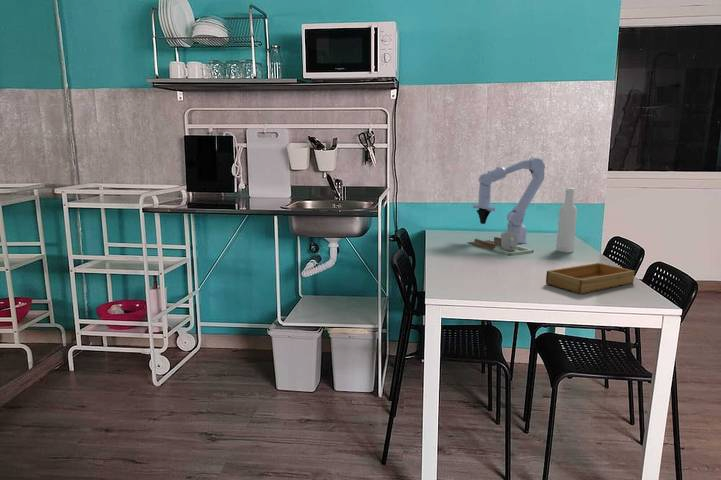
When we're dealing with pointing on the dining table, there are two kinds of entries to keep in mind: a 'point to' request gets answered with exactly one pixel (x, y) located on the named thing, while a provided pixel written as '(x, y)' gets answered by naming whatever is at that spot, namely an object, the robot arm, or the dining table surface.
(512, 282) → the dining table surface
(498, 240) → the channel
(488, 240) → the pad
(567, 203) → the bottle
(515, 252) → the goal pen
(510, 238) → the cup
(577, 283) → the tray
